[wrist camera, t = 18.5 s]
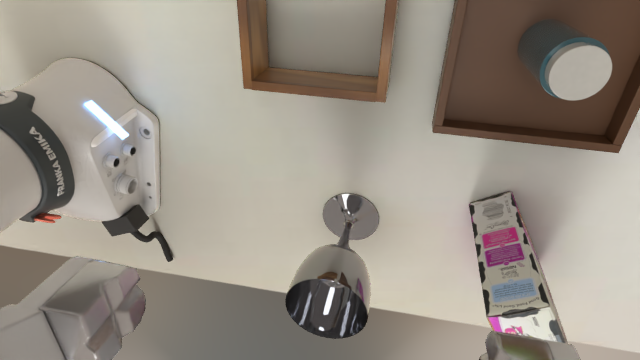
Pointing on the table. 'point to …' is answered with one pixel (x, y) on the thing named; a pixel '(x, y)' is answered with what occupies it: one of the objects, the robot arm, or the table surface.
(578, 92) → the salt shaker
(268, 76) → the open square wooden box
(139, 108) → the robot arm
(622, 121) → the tray
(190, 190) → the table surface
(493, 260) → the candy bar box
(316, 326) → the wine glass
